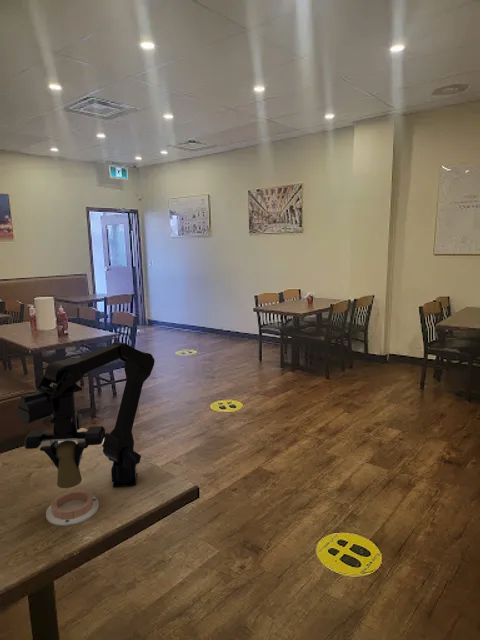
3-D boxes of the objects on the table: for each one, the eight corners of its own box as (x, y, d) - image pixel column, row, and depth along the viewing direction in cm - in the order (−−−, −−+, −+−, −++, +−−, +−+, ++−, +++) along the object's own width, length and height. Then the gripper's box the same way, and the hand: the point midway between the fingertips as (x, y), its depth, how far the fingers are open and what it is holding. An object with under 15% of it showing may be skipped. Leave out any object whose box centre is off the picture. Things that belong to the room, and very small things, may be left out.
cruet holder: (102, 494, 122) (102, 485, 121) (93, 523, 109) (92, 513, 109) (54, 498, 120) (53, 489, 120) (39, 528, 107) (38, 518, 107)
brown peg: (72, 489, 110) (69, 449, 108) (52, 486, 112) (48, 446, 110) (86, 477, 116) (83, 438, 114) (66, 474, 117) (63, 436, 116)
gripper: (107, 398, 119) (110, 451, 122) (36, 401, 117) (41, 455, 120) (98, 413, 109) (102, 471, 111) (20, 417, 106) (26, 476, 109)
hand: (68, 467), depth 113 cm, fingers closed on brown peg, 4 cm apart
